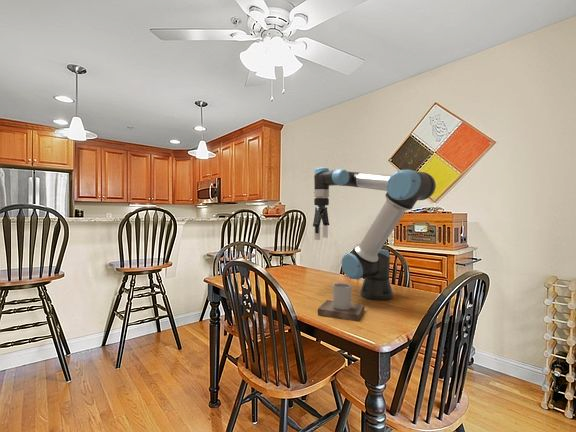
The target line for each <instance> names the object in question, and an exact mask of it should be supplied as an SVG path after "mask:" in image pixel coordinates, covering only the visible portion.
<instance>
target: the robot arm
mask: <svg viewBox="0 0 576 432" xmlns="http://www.w3.org/2000/svg"><path fill="white" fill-rule="evenodd" d="M313 177H314V178H313V179H314V182H313V183H314V189H313V190H314V191H313V194H314V196H313V197H314V200H313V203H314V204H313V205H314V206H315V207H314V208H315V210H314V217H313V223H312V227H314V241H315V240H316V241H320V240H321V236H322V238H324V239H325V238H326V239H328V235H329V234H328V230H329V229H328V228H329V227H328V226H330V221H329V220H330V219H329V213H328V207H327V206H329V205H330V204H329V203H330V199H329V198H330V186H338V187H339V186H340V187H341V186H342V187H354V188H362V189H369V190H376V191H384V192H386V193H385V202H384V204H383V206H382V207H381V208H380V210H379V212H378V214H377V216H376V217H375V219H374V221H373V222H372V224H371V226H370V227H369V228H368V230H367V232H366V233H365V236H364V237H363V239H362V241H361V242H360V243H357V244H355V245H354V247H353V248H352V251H351V252H350V253H349V252H348V253H346V254H344V255H343V256H342V259H341V268H342V271H343V274H344V275H345V276H346V277H347V278H349V279H350V280H361V279H363V278H364V279H363V282H362V285H361V287H360V296H361V297H363V298H365V299H369V300H373V301H374V300H377V301H388V300H390V299H393V297H394V292H393V291H394V290H393V289H392V286H391V282H390V260H391V259H390V258H391V257H390V251H389V250H388V249H384V248H383V246H384V245H385V243H386V242H387V240H388V239H389V237H390V236H391V234H392V233H393V231H394V230H395V228H396V227H397V225H398V224H399V222H400V220H401V219H402V217H403V216H404V214H405V213H406V212H407V211H410V210H412V209H413V208H414V207H415V205H416V203H417V202H418V201H425V200H427V199H429V198H430V197H432V196H433V194H434V193H435V190H436V189H437V187H436V186H437V184H436V180H435V179H434V177H433V176H432V175H431V174H429V173H427V172H424V171H418V170H413V169H399V170H397V171H395V172H393V173H392V174H384V173H383V174H382V173H368V172H360V171H359V172H358V171H348V170H346V169H343V168H342V169H341V168H338V169H334V170H333V169H331V170H330V169H329V168H328V167H325V166H324V167H323V166H322V167H315V169H314V175H313ZM321 222H322V228H321V226H320V225H321ZM321 229H322V235H321Z"/></svg>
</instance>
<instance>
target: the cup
mask: <svg viewBox="0 0 576 432" xmlns="http://www.w3.org/2000/svg"><path fill="white" fill-rule="evenodd" d="M332 301H333V307H334V308H335V309H337V310H349V309H350V308H351V303H352V285H351V284H349V283H345V282H342V283H341V282H340V283H333V284H332Z"/></svg>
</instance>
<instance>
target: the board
mask: <svg viewBox="0 0 576 432" xmlns="http://www.w3.org/2000/svg"><path fill="white" fill-rule="evenodd" d="M364 312H365V304H363V303H354V302H351V308H350V309H349V310H337V309H335V308H334V307H333V300H329V299H326V300H325V301H324V302H323V303H322V304H321V305H320V306H319V307H318V308H317V316H322V317H328V318H336V319H341V320H348V321H349V320H350V321H355V322H359V321H360V320H361V318H362V316H363V314H364Z"/></svg>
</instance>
